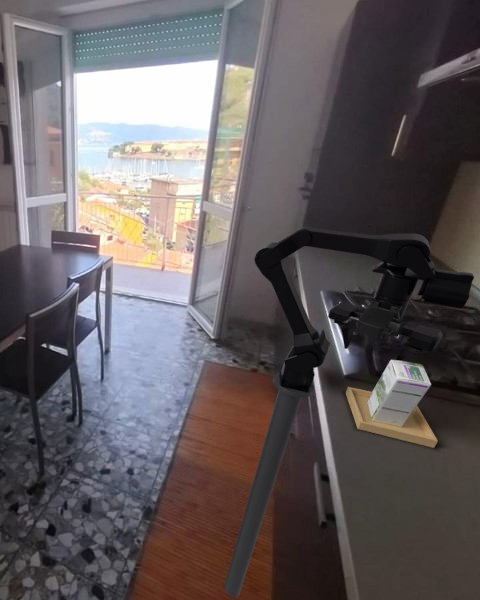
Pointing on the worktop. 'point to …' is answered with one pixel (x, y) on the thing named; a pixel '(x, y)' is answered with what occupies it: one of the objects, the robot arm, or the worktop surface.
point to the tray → (410, 430)
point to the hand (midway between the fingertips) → (368, 357)
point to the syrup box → (398, 392)
